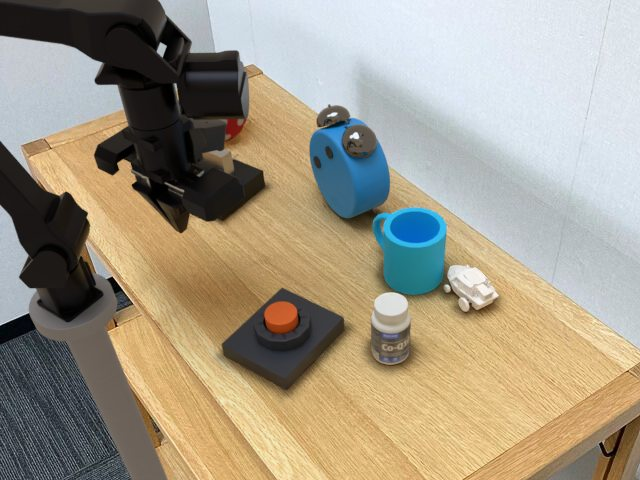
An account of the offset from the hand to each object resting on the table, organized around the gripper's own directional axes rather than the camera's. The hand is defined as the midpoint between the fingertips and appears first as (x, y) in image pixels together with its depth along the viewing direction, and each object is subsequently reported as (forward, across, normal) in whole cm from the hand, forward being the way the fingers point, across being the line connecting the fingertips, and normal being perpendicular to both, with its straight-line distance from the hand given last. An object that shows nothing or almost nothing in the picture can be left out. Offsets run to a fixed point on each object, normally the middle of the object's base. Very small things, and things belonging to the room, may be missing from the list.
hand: (181, 230), depth 92 cm
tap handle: (+9, +15, -19) cm, 26 cm away
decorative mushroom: (+12, +27, -32) cm, 43 cm away
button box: (+12, -15, 0) cm, 19 cm away
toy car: (+11, -29, -21) cm, 38 cm away
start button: (+8, -15, 0) cm, 17 cm away
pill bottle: (+12, -27, -7) cm, 30 cm away
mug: (+12, -19, -20) cm, 30 cm away
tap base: (+12, +15, -19) cm, 27 cm away
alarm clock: (+12, -5, -27) cm, 30 cm away
